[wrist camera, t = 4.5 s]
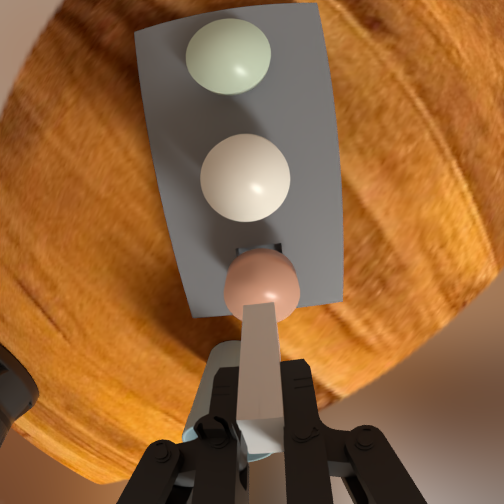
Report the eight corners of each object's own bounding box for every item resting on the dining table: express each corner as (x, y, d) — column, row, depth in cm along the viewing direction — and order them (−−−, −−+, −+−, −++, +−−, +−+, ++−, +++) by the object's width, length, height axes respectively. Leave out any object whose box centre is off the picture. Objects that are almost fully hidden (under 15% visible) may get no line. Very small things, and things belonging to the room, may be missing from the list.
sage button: (203, 103, 18) (191, 99, 14) (194, 43, 16) (181, 27, 12) (272, 93, 18) (276, 86, 14) (262, 33, 16) (264, 13, 12)
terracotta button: (234, 294, 22) (230, 328, 19) (223, 239, 21) (217, 266, 17) (295, 288, 22) (301, 320, 19) (290, 231, 20) (297, 256, 17)
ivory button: (217, 206, 20) (208, 227, 16) (206, 138, 18) (193, 142, 14) (286, 197, 19) (294, 216, 16) (278, 128, 17) (284, 129, 14)
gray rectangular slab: (198, 297, 26) (192, 318, 23) (148, 41, 17) (134, 32, 14) (334, 282, 25) (342, 301, 22) (309, 16, 16) (316, 2, 13)
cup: (184, 345, 28) (162, 430, 19) (251, 320, 27) (250, 413, 18) (222, 388, 31) (214, 466, 22) (284, 368, 30) (292, 453, 20)
